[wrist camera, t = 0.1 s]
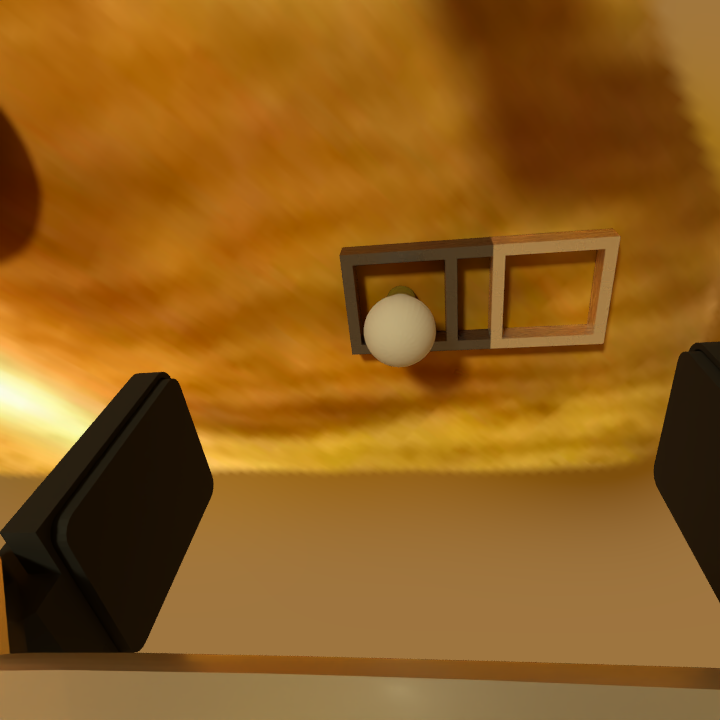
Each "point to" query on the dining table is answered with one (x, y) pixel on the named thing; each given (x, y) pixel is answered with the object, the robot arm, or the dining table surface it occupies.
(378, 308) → the light bulb
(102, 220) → the dining table surface
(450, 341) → the rail
